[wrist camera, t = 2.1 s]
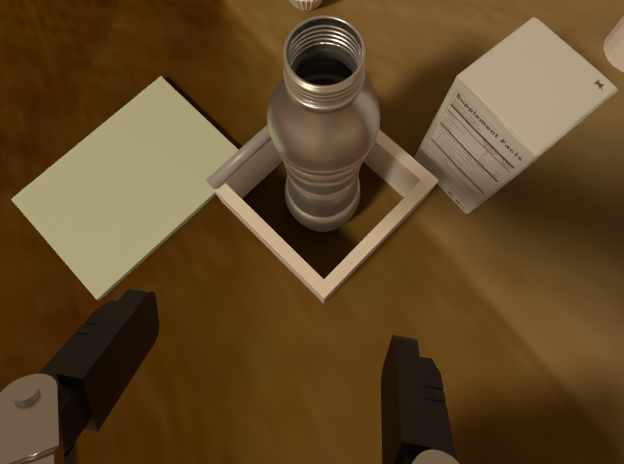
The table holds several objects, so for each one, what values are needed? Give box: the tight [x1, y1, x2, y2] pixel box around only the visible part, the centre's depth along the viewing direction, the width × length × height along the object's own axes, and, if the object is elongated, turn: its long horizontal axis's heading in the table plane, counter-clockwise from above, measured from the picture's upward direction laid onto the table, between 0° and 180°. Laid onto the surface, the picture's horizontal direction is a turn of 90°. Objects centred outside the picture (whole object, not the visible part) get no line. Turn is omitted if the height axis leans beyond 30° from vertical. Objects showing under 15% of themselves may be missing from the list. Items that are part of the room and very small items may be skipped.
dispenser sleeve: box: [206, 125, 439, 303], centre depth 33 cm, size 13×13×6 cm
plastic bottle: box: [267, 15, 381, 232], centre depth 26 cm, size 6×7×20 cm
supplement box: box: [414, 17, 618, 214], centre depth 31 cm, size 7×7×13 cm
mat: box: [11, 76, 238, 300], centre depth 37 cm, size 18×13×1 cm
